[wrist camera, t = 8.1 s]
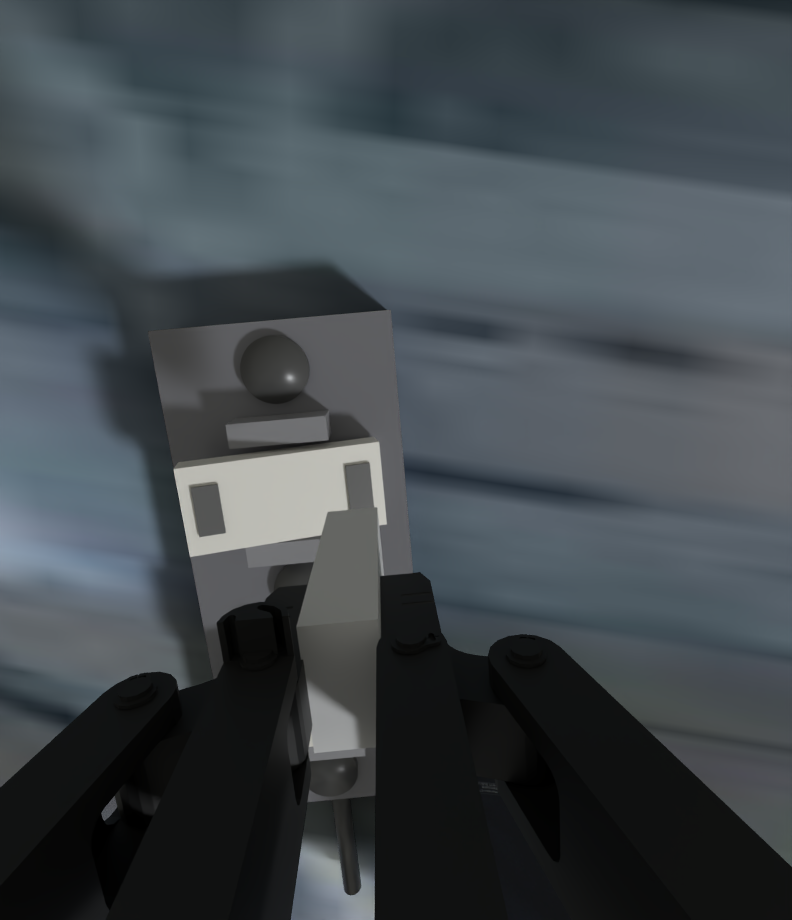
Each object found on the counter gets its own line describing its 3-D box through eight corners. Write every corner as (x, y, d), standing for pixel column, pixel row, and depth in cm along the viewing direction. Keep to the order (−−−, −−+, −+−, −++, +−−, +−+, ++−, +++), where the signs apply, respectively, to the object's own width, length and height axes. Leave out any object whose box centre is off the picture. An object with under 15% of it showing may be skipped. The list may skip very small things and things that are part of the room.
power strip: (270, 874, 33) (253, 960, 28) (174, 330, 25) (130, 331, 21) (435, 858, 33) (445, 941, 28) (389, 311, 25) (391, 308, 21)
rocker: (193, 546, 23) (189, 558, 21) (177, 462, 22) (172, 470, 21) (380, 515, 24) (387, 525, 23) (373, 436, 23) (379, 442, 22)
